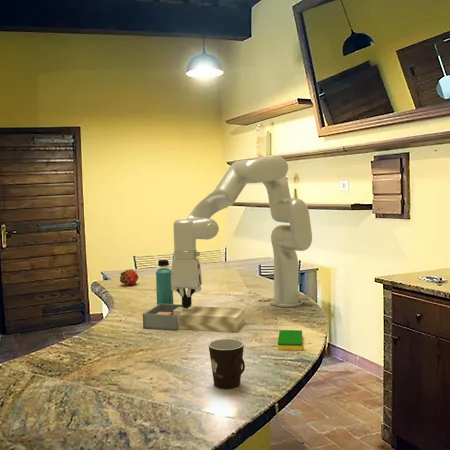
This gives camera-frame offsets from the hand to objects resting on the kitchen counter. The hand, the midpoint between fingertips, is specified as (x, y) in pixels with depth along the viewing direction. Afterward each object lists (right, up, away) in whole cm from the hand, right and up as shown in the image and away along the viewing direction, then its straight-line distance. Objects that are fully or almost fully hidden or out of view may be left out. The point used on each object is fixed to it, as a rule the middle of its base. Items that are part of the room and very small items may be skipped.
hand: (186, 307), depth 180 cm
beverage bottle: (-10, -5, +20) cm, 23 cm away
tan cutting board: (+9, -6, -2) cm, 11 cm away
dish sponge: (+33, -8, -22) cm, 41 cm away
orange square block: (-8, -3, +2) cm, 9 cm away
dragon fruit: (-33, -1, +73) cm, 80 cm away
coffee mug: (+14, -11, -55) cm, 58 cm away
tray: (-7, -6, +2) cm, 9 cm away
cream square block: (-1, -3, 0) cm, 3 cm away
